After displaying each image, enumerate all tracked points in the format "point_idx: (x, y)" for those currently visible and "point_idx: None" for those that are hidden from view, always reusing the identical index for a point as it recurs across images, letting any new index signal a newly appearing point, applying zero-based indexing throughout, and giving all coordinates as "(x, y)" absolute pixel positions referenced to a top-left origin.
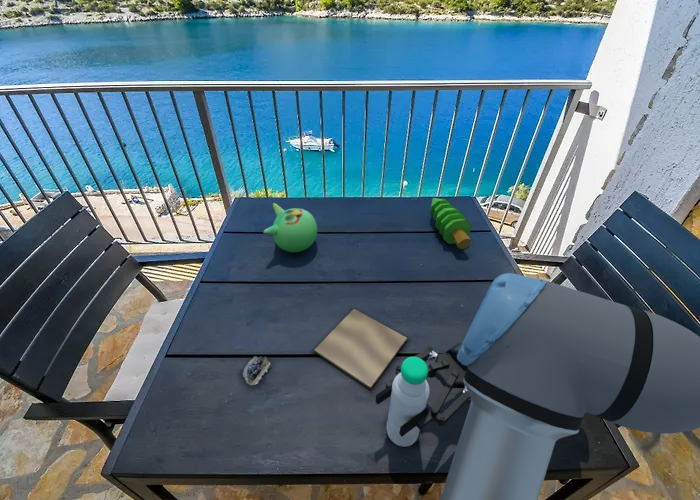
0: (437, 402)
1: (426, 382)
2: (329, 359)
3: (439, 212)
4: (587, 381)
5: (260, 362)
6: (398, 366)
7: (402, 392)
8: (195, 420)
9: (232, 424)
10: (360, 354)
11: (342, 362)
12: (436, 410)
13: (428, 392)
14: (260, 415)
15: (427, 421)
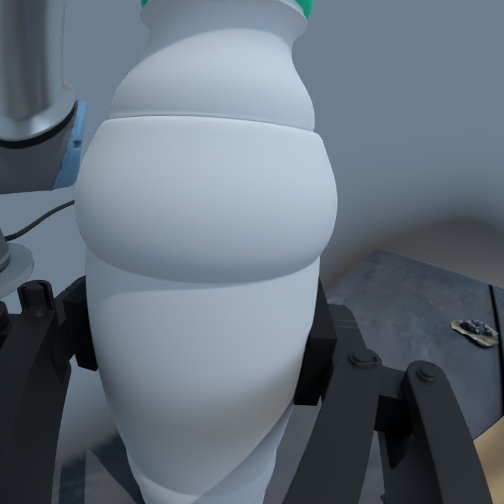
0: (25, 354)
1: (122, 116)
2: (495, 424)
3: None
4: None
5: (487, 333)
6: (429, 368)
7: (281, 435)
8: (410, 281)
9: (395, 297)
10: (500, 497)
11: (485, 448)
12: (25, 317)
13: (83, 160)
14: (399, 318)
15: (62, 291)
